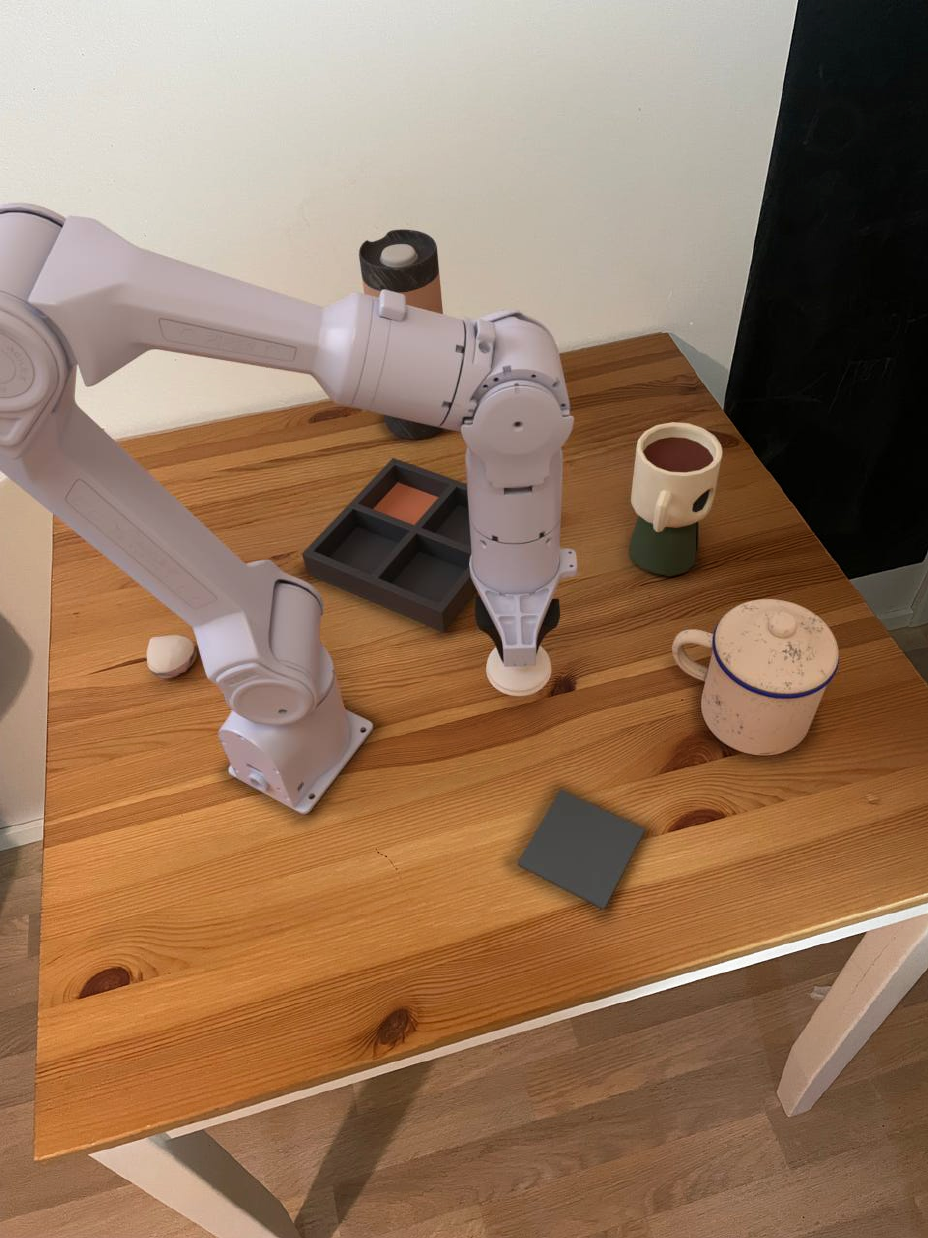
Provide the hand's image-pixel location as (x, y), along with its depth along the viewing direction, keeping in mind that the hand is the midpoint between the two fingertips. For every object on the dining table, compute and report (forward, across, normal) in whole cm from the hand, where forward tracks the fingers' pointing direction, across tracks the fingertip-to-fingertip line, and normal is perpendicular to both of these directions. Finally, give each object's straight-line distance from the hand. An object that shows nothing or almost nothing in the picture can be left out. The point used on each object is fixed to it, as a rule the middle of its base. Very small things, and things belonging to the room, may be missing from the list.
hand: (517, 648), depth 67 cm
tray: (+10, +21, +9) cm, 25 cm away
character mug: (+11, +19, -14) cm, 26 cm away
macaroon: (+11, +8, +30) cm, 33 cm away
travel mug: (+11, +41, +10) cm, 44 cm away
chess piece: (+3, 0, 0) cm, 3 cm away
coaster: (+10, -11, -4) cm, 16 cm away
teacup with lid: (+11, +1, -18) cm, 21 cm away
